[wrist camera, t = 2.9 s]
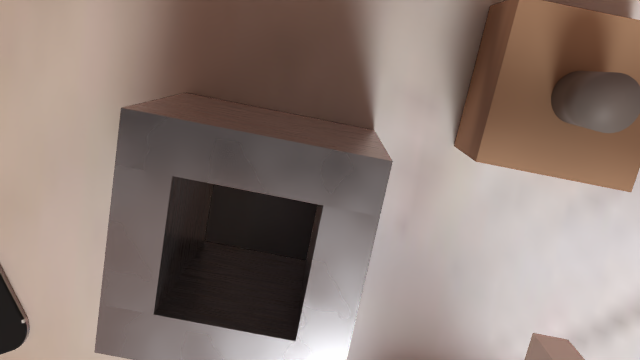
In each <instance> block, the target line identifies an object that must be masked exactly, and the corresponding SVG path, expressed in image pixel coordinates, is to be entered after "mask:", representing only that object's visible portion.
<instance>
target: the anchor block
mask: <svg viewBox="0 0 640 360" xmlns="http://www.w3.org/2000/svg"><path fill="white" fill-rule="evenodd" d="M454 146H455V147H456V148H458V149H459V150H460V151H462V152H463V153H465V154H466V155H467V156H469V157H470V158H472V159H473V160H474V161H476V162H481V163H486V164H491V165H496V166H501V167H506V168H511V169H516V170H521V171H526V172H531V173H536V174H541V175H547V176H552V177H557V178H562V179H567V180H572V181H577V182H582V183H587V184H592V185H597V186H602V187H607V188H612V189H617V190H622V191H627V192H631V191H632V188H633V185H634V182H635V179H636V177H637V174H638V171H639V168H640V20H636V19H631V18H626V17H621V16H617V15H612V14H607V13H602V12H597V11H592V10H587V9H583V8H578V7H573V6H568V5H563V4H558V3H553V2H548V1H544V0H506V1H503V2H500V3H497V4H494V5H491V6H490V8H489V12H488V16H487V20H486V24H485V28H484V32H483V36H482V40H481V43H480V47H479V51H478V55H477V59H476V63H475V67H474V71H473V75H472V78H471V82H470V86H469V90H468V94H467V98H466V102H465V106H464V110H463V114H462V117H461V121H460V125H459V129H458V133H457V137H456V141H455V145H454Z"/></svg>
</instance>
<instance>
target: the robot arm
mask: <svg viewBox="0 0 640 360" xmlns="http://www.w3.org/2000/svg"><path fill="white" fill-rule="evenodd" d="M525 360H585V359H584V358H583V357H582V356H581V355H580V353H579V352H578V351H577V350H576V349H575V347H574V346H573V345H572V344H571V343H570V342H569V340H566V339H561V338H556V337H551V336H546V335H541V334H536V333H533V334H532V338H531V341H530V344H529V347H528V351H527V354H526V357H525Z"/></svg>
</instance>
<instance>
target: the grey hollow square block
mask: <svg viewBox="0 0 640 360" xmlns="http://www.w3.org/2000/svg"><path fill="white" fill-rule="evenodd" d="M392 162H393V161H392V159H391V158H390V156H389V154H388V153H387V151H386V149H385V148H384V146H383V144H382V142H381V141H380V139H379V137H378V136H377V134H376V132H375V131H374V130H371V129H366V128H361V127H356V126H351V125H346V124H341V123H336V122H331V121H326V120H321V119H316V118H311V117H306V116H301V115H296V114H291V113H286V112H280V111H275V110H270V109H265V108H260V107H255V106H250V105H245V104H240V103H235V102H230V101H225V100H220V99H215V98H210V97H205V96H200V95H195V94H190V93H182V94H178V95H173V96H169V97H165V98H161V99H156V100H152V101H148V102H144V103H139V104H135V105H131V106H126V107H122V108H121V114H120V123H119V132H118V142H117V151H116V160H115V169H114V178H113V188H112V197H111V206H110V215H109V224H108V234H107V243H106V252H105V261H104V270H103V280H102V289H101V298H100V307H99V316H98V326H97V335H96V344H95V353H101V354H106V355H111V356H117V357H122V358H127V359H133V360H347V356H348V352H349V347H350V343H351V339H352V334H353V330H354V326H355V321H356V317H357V313H358V308H359V304H360V300H361V295H362V291H363V287H364V282H365V278H366V274H367V270H368V265H369V261H370V257H371V252H372V248H373V244H374V239H375V235H376V231H377V226H378V222H379V218H380V213H381V209H382V205H383V200H384V196H385V192H386V187H387V183H388V179H389V174H390V170H391V166H392ZM213 184H216V185H221V186H226V187H231V188H236V189H241V190H246V191H252V192H257V193H262V194H267V195H272V196H277V197H282V198H288V199H293V200H298V201H303V202H308V203H313V204H317V209H316V214H315V219H314V224H313V229H312V234H311V239H310V244H309V248H308V253H307V258H306V261H305V260H300V259H295V258H290V257H284V256H279V255H274V254H269V253H264V252H258V251H253V250H248V249H243V248H238V247H232V246H227V245H222V244H217V243H212V242H206V241H205V236H206V229H207V223H208V216H209V210H210V203H211V197H212V190H213Z"/></svg>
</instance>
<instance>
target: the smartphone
mask: <svg viewBox="0 0 640 360" xmlns="http://www.w3.org/2000/svg"><path fill="white" fill-rule="evenodd" d="M29 330H30V326H29V321H28V318H27V316H26V314H25V312H24V310H23V308H22V307H21V305H20V303H19V301H18V299H17V297H16V295H15V293H14V291H13V289H12V287H11V285H10V283H9V281H8V280H7V278H6V276H5V274H4V272H3V270H2V268H1V266H0V354H3V353H6V352H9V351H12V350H15V349H16V348H18V347H19V346H21V345H22V344H23V343H24V342H25V341H26V339H27V337H28V335H29Z"/></svg>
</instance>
